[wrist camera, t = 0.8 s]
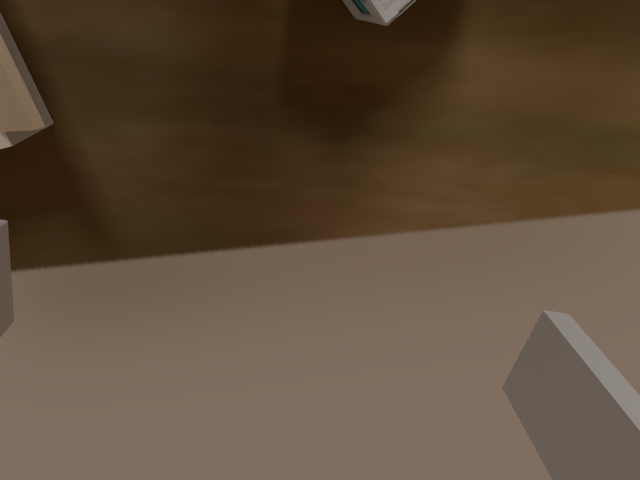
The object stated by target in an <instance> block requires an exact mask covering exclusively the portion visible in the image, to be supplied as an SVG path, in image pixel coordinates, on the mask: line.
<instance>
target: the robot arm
mask: <svg viewBox="0 0 640 480" xmlns="http://www.w3.org/2000/svg"><path fill="white" fill-rule="evenodd" d="M13 321H14V316H13V300H12V282H11V266H10V249H9V232H8V221H7V220H1V219H0V337H1V336H2V335H3V333H4V332H5V331H6V330H7V328H8V327H9V326H10V325H11V324H12V322H13ZM503 390H504V391H505V393H506V395H507V397H508V399H509V401H510V402H511V404H512V406H513V408H514V410H515V412H516V413H517V415H518V417H519V419H520V421H521V423H522V425H523V426H524V428H525V430H526V432H527V434H528V435H529V437H530V439H531V441H532V443H533V445H534V447H535V448H536V450H537V452H538V454H539V456H540V458H541V459H542V461H543V463H544V465H545V467H546V468H547V470H548V472H549V474H550V476H551V478H552V480H640V396H639V394H638V393H637V392H636V391H635V390H634V389H633V387H631V385H630V384H629V383H628V382H627V381H626V380H625V378H624V377H623V376H622V375H621V374H620V373H619V371H618V370H617V369H616V368H615V367H614V366H613V364H612V363H611V362H610V361H609V360H608V359H607V358H606V357H605V355H604V354H603V353H602V352H601V351H600V350H599V348H598V347H597V346H596V345H595V344H594V343H593V341H592V340H591V339H590V338H589V337H588V336H587V335H586V333H585V332H584V331H583V330H582V329H581V328H580V327H579V325H578V324H577V323H576V322H575V321H574V320H573V318H572V317H571V316H570V315H569V314H563V313H557V312H551V311H544V310H543V312H542V314H541V315H540V317H539V319H538V321H537V323H536V325H535V327H534V329H533V330H532V332H531V334H530V336H529V338H528V340H527V342H526V344H525V346H524V347H523V349H522V351H521V353H520V355H519V357H518V359H517V361H516V362H515V364H514V366H513V368H512V370H511V372H510V374H509V376H508V378H507V379H506V382H505V384H504V385H503Z"/></svg>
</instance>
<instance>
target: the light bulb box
mask: <svg viewBox="0 0 640 480" xmlns="http://www.w3.org/2000/svg"><path fill="white" fill-rule="evenodd" d="M342 1H343V2H344V4H345V5H346V7H347V8H348V10H349V11H350V12H351V14H352V15H353V16H354V17H355V19H357V20H362V21H367V22H371V23H376V24H380V25H384V26H388V25H389V24H390V23H391V22H392V21H393V20H395V19H396V18H397V17H398V16H399V15H400V14H402V13H403V12H404V11H405V10H406V9H407V8H408V7H410V6H411V5H412V4H413V3H414V2H415V1H416V0H342Z"/></svg>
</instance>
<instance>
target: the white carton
mask: <svg viewBox="0 0 640 480" xmlns="http://www.w3.org/2000/svg"><path fill="white" fill-rule="evenodd" d="M52 124H54V123H53V120H52V118H51V116H50V114H49V112H48V110H47V108H46V106H45V104H44V102H43V100H42V98H41V95H40V93H39V91H38V89H37V87H36V85H35V83H34V81H33V79H32V77H31V75H30V72H29V70H28V68H27V66H26V64H25V62H24V60H23V58H22V56H21V54H20V52H19V50H18V47H17V45H16V43H15V41H14V39H13V37H12V35H11V33H10V31H9V29H8V27H7V24H6V22H5V20H4V18H3V16H2V14H1V12H0V149H3V148H7V147H11V146H14V145H16V144H17V143H19V142H21V141H23V140H25V139H27V138H28V137H30V136H32V135H34V134H36V133H38V132H39V131H41V130H43V129H45V128H47V127H49V126H50V125H52Z"/></svg>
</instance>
